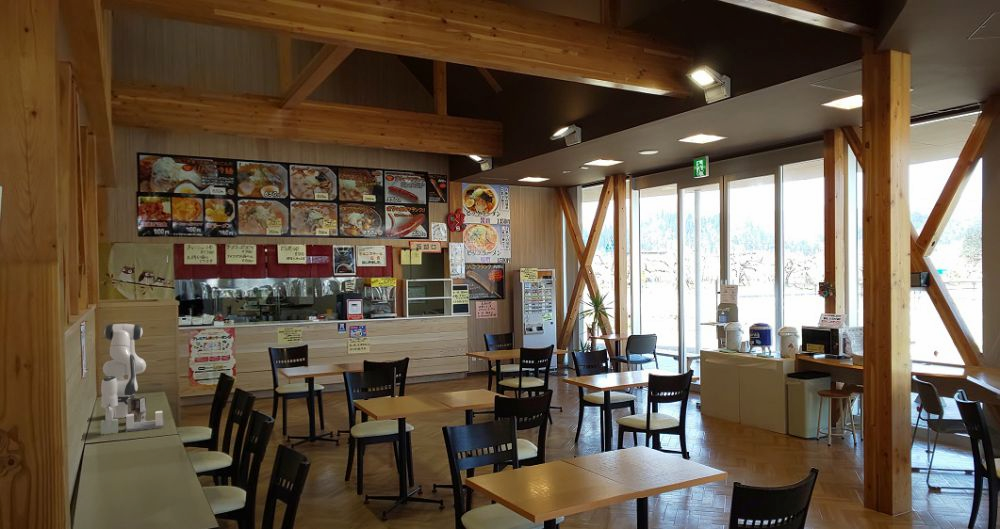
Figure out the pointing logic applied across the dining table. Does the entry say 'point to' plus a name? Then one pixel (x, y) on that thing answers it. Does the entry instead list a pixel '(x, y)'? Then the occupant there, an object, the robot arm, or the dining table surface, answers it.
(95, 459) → the dining table surface
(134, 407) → the coffee box
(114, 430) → the block
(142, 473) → the dining table surface
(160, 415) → the module rack
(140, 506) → the dining table surface
